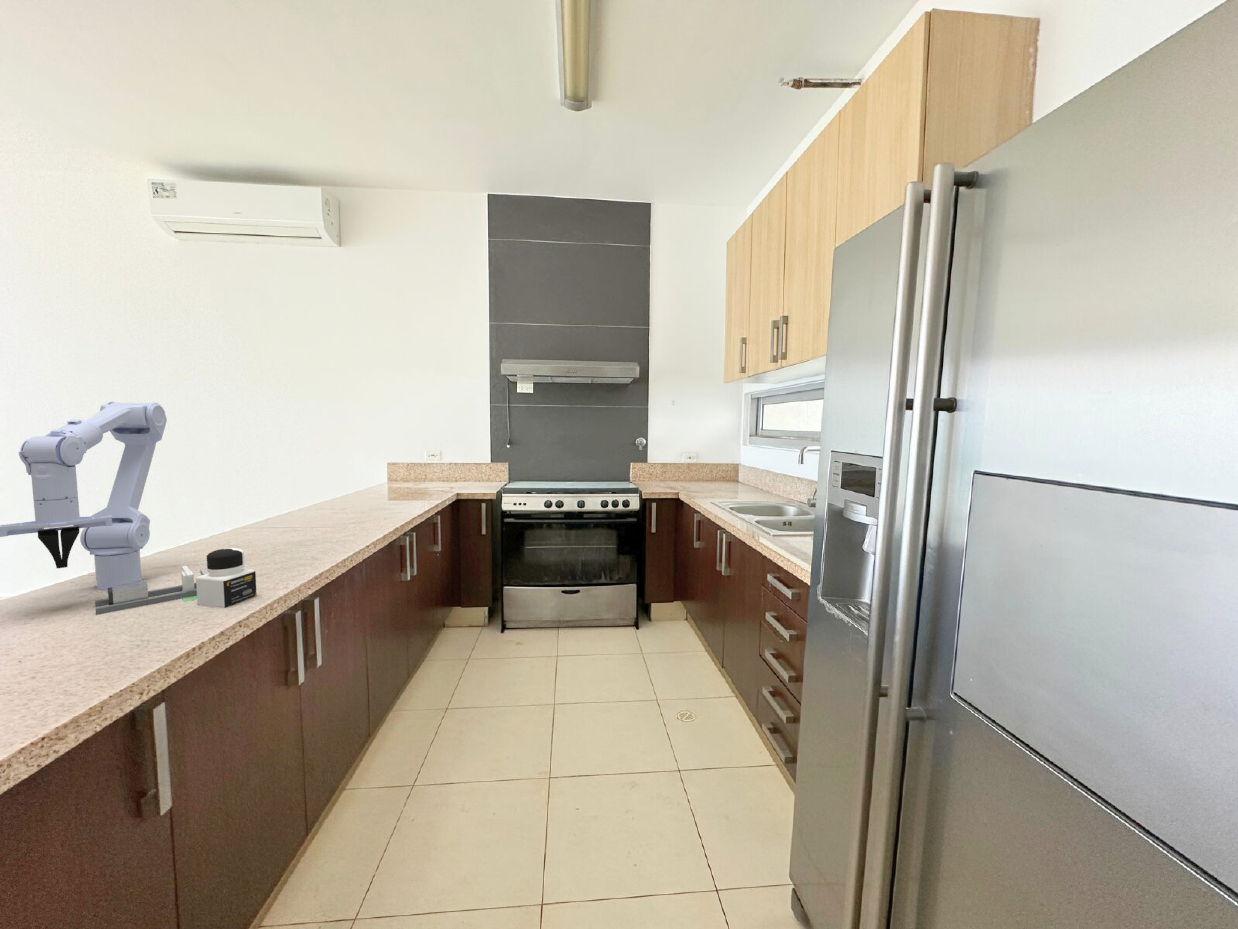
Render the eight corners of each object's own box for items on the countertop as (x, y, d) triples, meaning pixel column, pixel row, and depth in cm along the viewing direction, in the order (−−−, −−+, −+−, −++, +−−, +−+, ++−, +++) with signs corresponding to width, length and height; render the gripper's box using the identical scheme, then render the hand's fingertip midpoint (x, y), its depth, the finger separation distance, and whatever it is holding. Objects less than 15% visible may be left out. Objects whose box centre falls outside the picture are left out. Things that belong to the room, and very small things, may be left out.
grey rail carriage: (108, 604, 100) (107, 585, 100) (146, 598, 104) (145, 579, 104) (109, 610, 97) (108, 590, 97) (148, 602, 101) (147, 584, 101)
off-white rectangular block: (180, 588, 110) (179, 566, 110) (190, 587, 111) (189, 565, 111) (186, 599, 104) (185, 575, 104) (196, 597, 105) (195, 574, 105)
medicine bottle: (225, 614, 100) (222, 556, 99) (197, 610, 101) (193, 553, 100) (257, 601, 107) (255, 547, 106) (230, 598, 108) (227, 545, 107)
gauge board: (95, 608, 102) (93, 583, 101) (208, 587, 115) (206, 565, 114) (96, 625, 93) (94, 598, 93) (217, 601, 107) (216, 577, 106)
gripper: (-7, 505, 88) (0, 579, 89) (110, 496, 98) (115, 563, 99) (-2, 500, 92) (4, 571, 93) (109, 492, 103) (114, 556, 104)
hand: (62, 566), depth 97 cm, fingers closed
